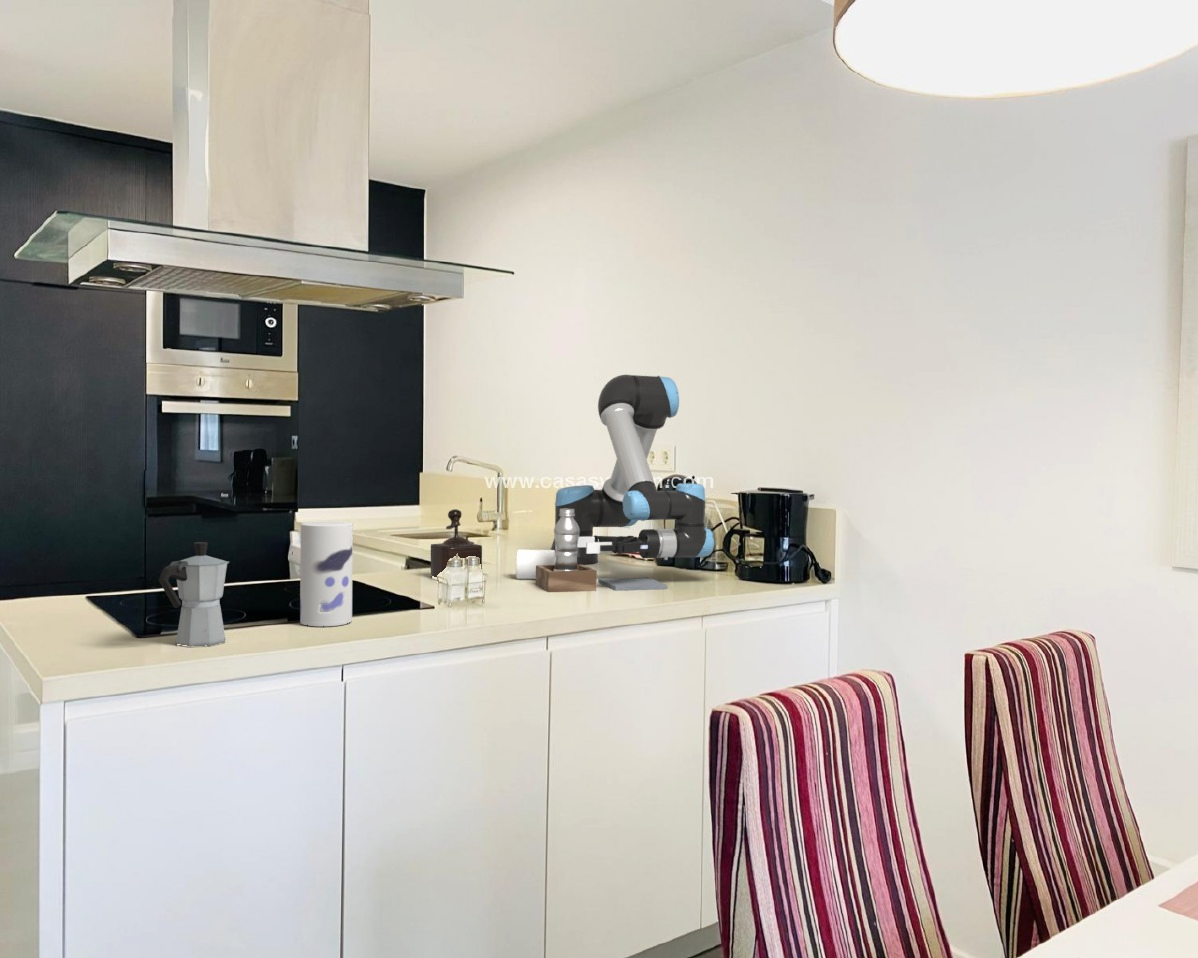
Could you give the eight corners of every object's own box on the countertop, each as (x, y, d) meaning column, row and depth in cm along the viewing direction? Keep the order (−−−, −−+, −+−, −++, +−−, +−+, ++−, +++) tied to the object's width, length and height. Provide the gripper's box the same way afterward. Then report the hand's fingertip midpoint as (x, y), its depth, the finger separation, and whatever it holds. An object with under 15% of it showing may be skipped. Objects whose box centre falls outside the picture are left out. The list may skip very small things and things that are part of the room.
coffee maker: (211, 633, 181) (211, 537, 180) (246, 638, 177) (246, 540, 177) (142, 648, 168) (142, 544, 167) (178, 654, 164) (178, 548, 163)
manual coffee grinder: (485, 580, 256) (486, 512, 255) (447, 583, 249) (448, 513, 249) (457, 573, 268) (458, 508, 268) (420, 576, 262) (421, 509, 261)
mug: (553, 581, 256) (553, 551, 256) (515, 581, 256) (516, 551, 256) (556, 575, 268) (556, 546, 268) (520, 574, 268) (520, 546, 268)
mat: (598, 582, 256) (598, 578, 256) (647, 580, 260) (647, 577, 260) (615, 590, 243) (615, 586, 243) (667, 588, 247) (667, 584, 247)
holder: (535, 584, 250) (536, 565, 250) (581, 583, 254) (582, 564, 253) (548, 592, 238) (548, 571, 238) (596, 590, 242) (596, 570, 242)
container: (324, 629, 187) (325, 526, 186) (289, 623, 192) (289, 522, 192) (362, 621, 196) (363, 522, 195) (327, 616, 201) (328, 519, 200)
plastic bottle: (548, 586, 247) (549, 508, 247) (573, 585, 250) (574, 507, 249) (557, 590, 242) (558, 510, 241) (582, 588, 244) (584, 509, 243)
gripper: (674, 563, 241) (593, 566, 234) (638, 552, 265) (564, 553, 258) (675, 533, 241) (594, 535, 234) (639, 524, 264) (564, 525, 257)
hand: (578, 545), depth 246 cm, fingers open, 13 cm apart
